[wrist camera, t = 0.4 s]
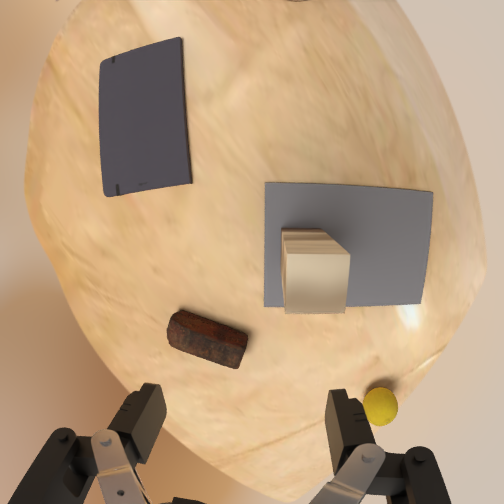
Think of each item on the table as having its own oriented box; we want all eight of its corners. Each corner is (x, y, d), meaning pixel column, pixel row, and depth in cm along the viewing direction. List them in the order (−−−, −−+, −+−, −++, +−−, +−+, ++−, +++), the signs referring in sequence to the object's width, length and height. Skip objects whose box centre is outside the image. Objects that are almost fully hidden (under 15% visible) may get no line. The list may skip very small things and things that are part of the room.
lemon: (352, 400, 42) (362, 433, 34) (368, 375, 41) (382, 407, 33) (378, 404, 42) (390, 436, 34) (394, 381, 41) (411, 411, 33)
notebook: (193, 183, 36) (182, 40, 32) (189, 183, 35) (179, 36, 30) (109, 197, 37) (104, 64, 33) (103, 198, 36) (99, 61, 31)
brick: (249, 331, 40) (246, 348, 35) (241, 353, 41) (237, 371, 36) (178, 306, 40) (167, 320, 35) (172, 329, 41) (162, 345, 36)
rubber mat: (265, 182, 35) (264, 182, 35) (431, 192, 34) (433, 192, 33) (264, 305, 39) (263, 306, 38) (419, 302, 37) (420, 303, 37)
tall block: (281, 227, 36) (287, 253, 22) (321, 228, 36) (350, 254, 22) (280, 267, 37) (285, 313, 23) (319, 267, 37) (344, 313, 23)
